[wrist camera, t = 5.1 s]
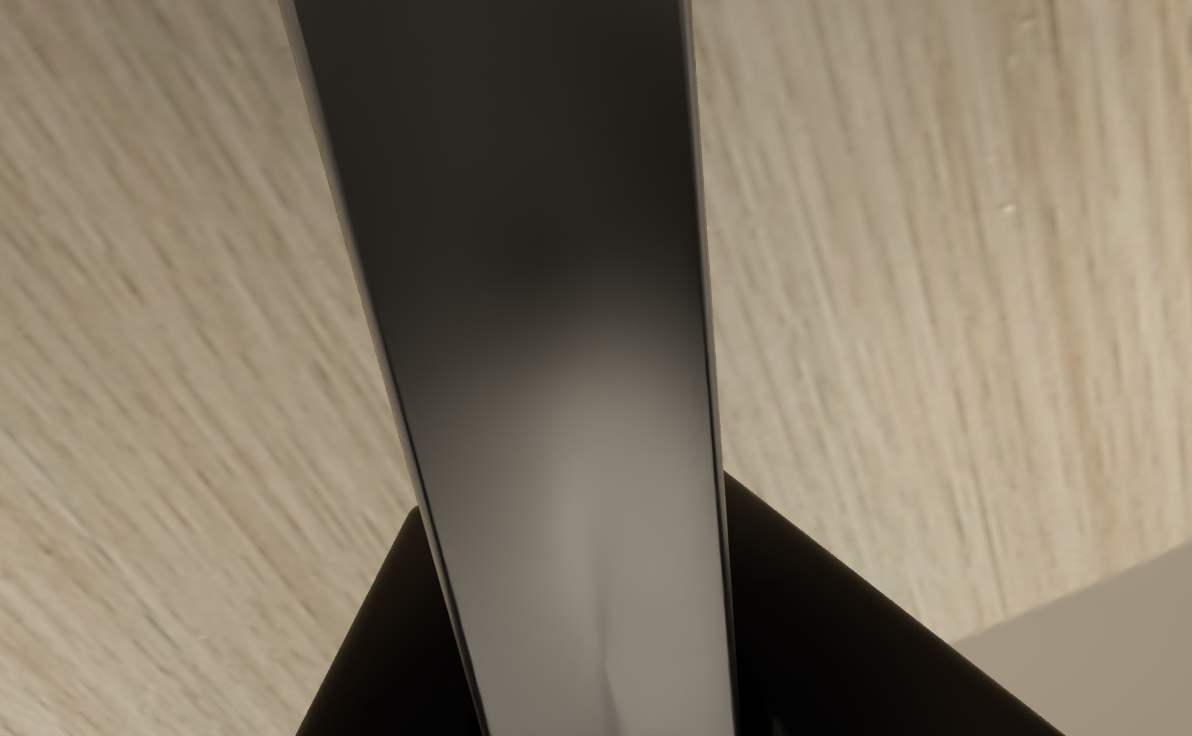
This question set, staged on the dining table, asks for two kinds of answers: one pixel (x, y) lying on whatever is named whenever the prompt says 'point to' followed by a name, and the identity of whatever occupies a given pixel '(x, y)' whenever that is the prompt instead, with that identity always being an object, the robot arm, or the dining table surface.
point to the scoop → (543, 339)
